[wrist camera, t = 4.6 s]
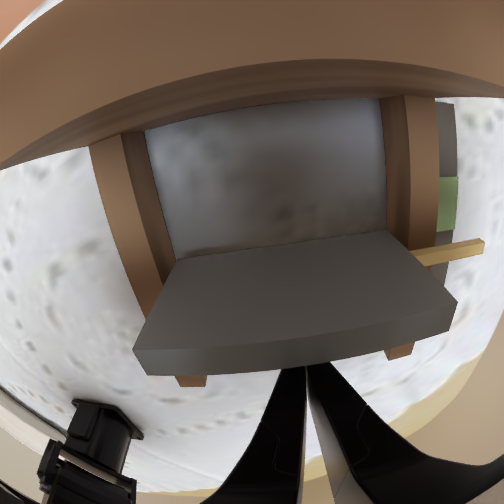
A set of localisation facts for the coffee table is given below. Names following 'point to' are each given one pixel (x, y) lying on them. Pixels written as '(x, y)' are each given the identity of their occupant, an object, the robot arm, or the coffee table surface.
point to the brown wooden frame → (246, 96)
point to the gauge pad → (296, 305)
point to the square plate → (26, 425)
